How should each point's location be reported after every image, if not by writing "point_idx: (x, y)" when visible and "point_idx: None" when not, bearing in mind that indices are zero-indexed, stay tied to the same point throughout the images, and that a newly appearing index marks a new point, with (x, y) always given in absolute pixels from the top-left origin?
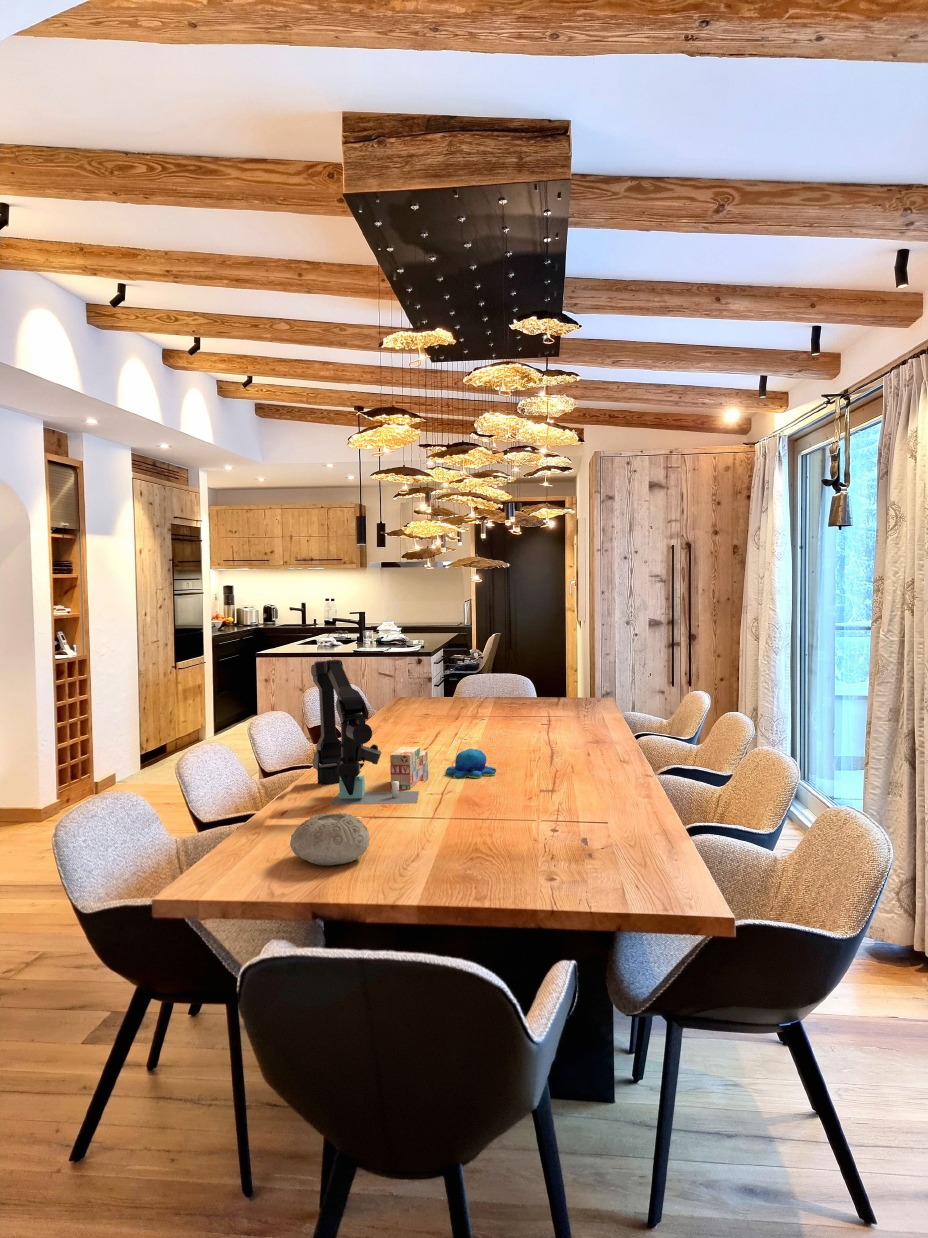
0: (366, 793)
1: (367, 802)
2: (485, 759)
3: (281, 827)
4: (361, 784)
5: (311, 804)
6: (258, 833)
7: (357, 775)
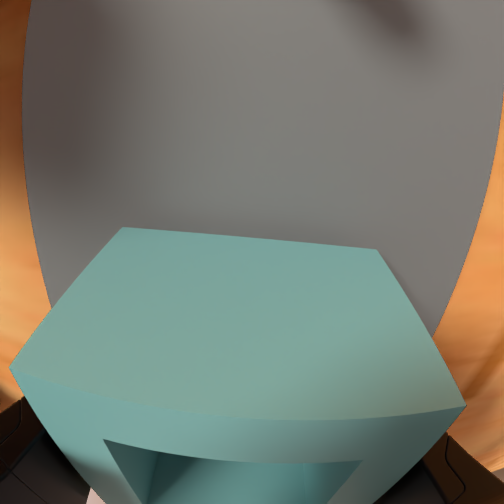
0: (67, 204)
1: (442, 192)
2: None
3: (490, 445)
4: (438, 366)
5: None
6: (496, 459)
7: (40, 440)
